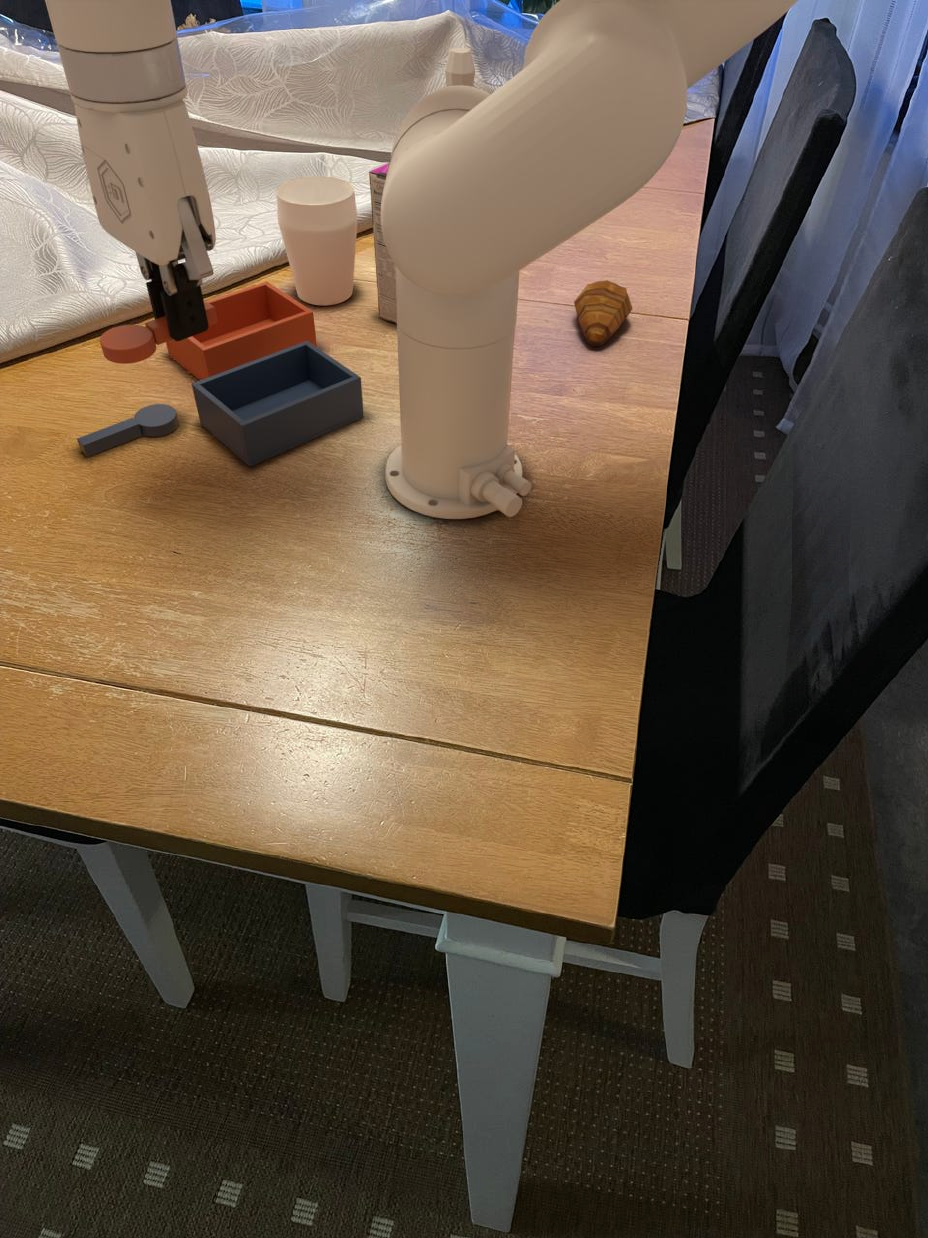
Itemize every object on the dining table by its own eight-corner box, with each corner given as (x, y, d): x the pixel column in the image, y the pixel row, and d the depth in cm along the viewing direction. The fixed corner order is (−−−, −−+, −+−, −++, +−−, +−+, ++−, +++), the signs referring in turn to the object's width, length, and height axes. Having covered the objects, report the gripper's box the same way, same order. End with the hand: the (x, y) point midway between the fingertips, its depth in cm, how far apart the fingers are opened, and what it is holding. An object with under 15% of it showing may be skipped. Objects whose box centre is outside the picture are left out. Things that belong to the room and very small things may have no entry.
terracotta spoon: (200, 311, 74) (197, 295, 73) (227, 328, 72) (223, 312, 71) (94, 349, 69) (89, 333, 68) (119, 369, 67) (114, 352, 66)
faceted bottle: (452, 226, 121) (454, 40, 105) (490, 237, 119) (498, 49, 103) (424, 241, 118) (422, 50, 102) (463, 253, 115) (466, 60, 99)
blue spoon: (93, 463, 82) (89, 451, 81) (75, 444, 84) (70, 432, 83) (186, 427, 86) (183, 414, 85) (166, 409, 88) (163, 397, 87)
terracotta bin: (317, 349, 97) (313, 311, 94) (211, 390, 91) (203, 350, 88) (272, 318, 102) (266, 281, 98) (168, 355, 96) (159, 316, 92)
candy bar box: (434, 284, 109) (434, 140, 97) (466, 296, 107) (470, 150, 95) (375, 317, 102) (366, 168, 91) (408, 331, 100) (403, 179, 89)
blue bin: (363, 417, 88) (361, 377, 85) (249, 467, 82) (242, 425, 78) (311, 379, 93) (307, 340, 89) (200, 424, 86) (191, 383, 83)
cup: (331, 318, 102) (321, 212, 93) (272, 297, 105) (257, 193, 97) (377, 289, 107) (371, 186, 99) (319, 270, 111) (309, 169, 102)
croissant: (625, 354, 98) (632, 312, 94) (565, 347, 99) (569, 305, 95) (633, 300, 107) (640, 259, 103) (578, 293, 108) (583, 253, 104)
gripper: (19, 55, 60) (95, 310, 73) (131, 110, 52) (194, 384, 66) (119, 38, 64) (174, 283, 77) (238, 87, 56) (277, 350, 69)
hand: (183, 328), depth 71 cm, fingers closed on terracotta spoon, 1 cm apart
